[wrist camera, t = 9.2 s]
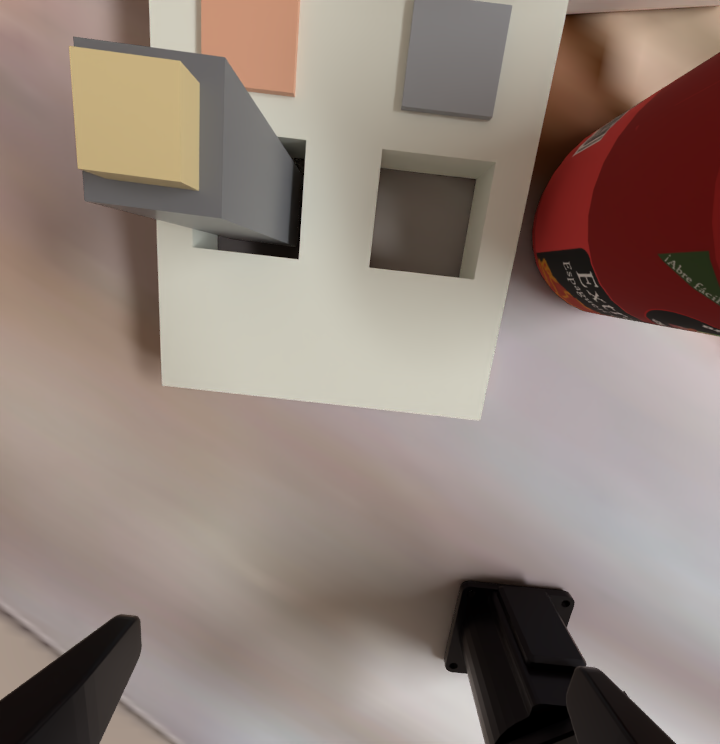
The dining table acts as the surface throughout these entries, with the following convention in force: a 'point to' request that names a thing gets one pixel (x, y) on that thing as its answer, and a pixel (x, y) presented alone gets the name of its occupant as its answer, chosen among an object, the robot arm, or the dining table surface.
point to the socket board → (362, 197)
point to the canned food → (641, 211)
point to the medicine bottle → (632, 5)
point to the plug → (180, 143)
